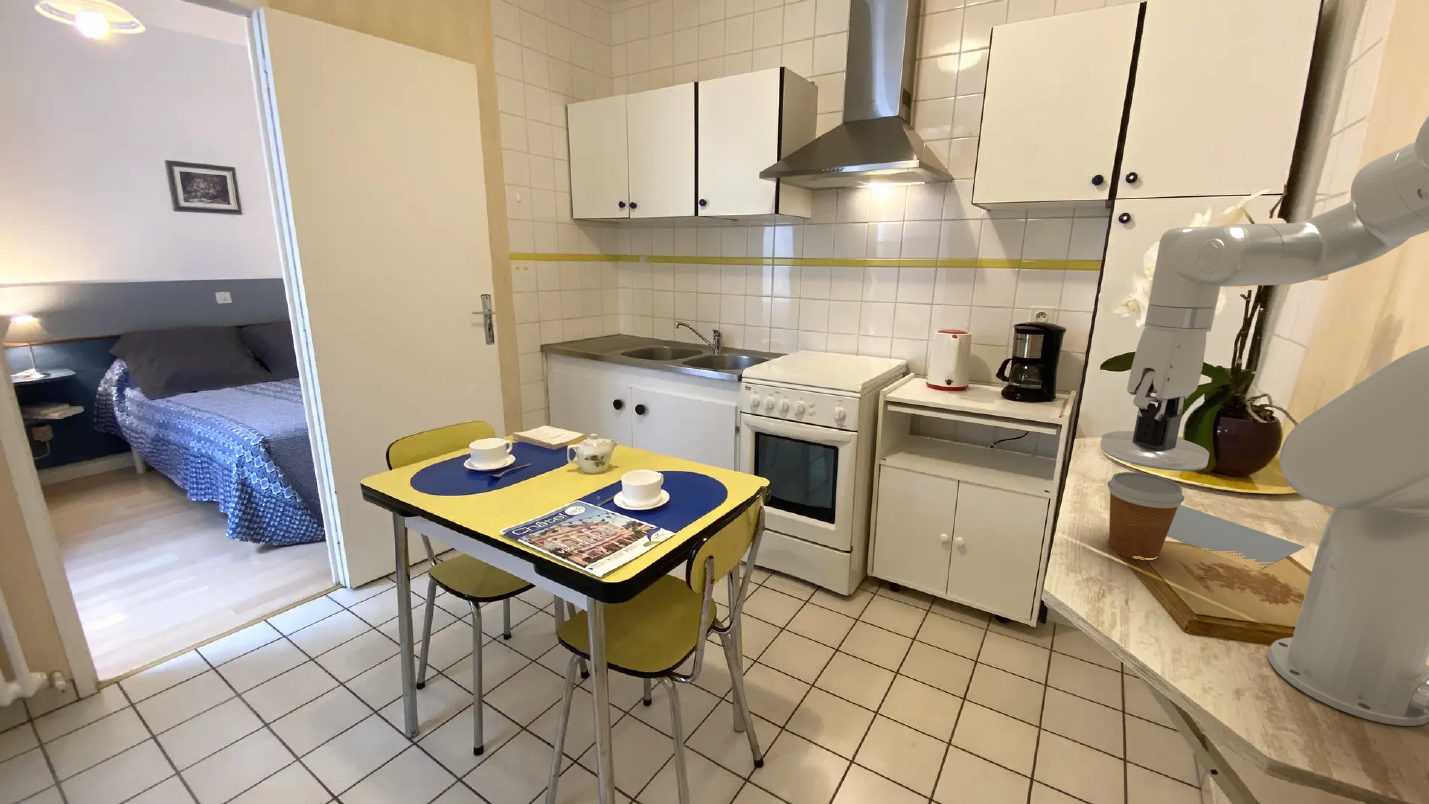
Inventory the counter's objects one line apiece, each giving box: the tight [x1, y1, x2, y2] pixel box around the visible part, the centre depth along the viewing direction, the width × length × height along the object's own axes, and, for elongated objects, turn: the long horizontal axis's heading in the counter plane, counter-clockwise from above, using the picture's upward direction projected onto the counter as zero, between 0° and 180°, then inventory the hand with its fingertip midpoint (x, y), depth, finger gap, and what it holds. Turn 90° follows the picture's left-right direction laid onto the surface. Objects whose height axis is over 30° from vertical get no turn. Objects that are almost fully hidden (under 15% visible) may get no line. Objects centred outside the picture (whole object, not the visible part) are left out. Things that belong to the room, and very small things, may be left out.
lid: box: [1099, 409, 1210, 472], centre depth 87 cm, size 13×13×6 cm
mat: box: [1166, 504, 1306, 568], centre depth 98 cm, size 20×15×1 cm
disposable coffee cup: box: [1107, 471, 1185, 559], centre depth 91 cm, size 10×10×12 cm
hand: (1154, 440), depth 88 cm, fingers closed on lid, 2 cm apart
